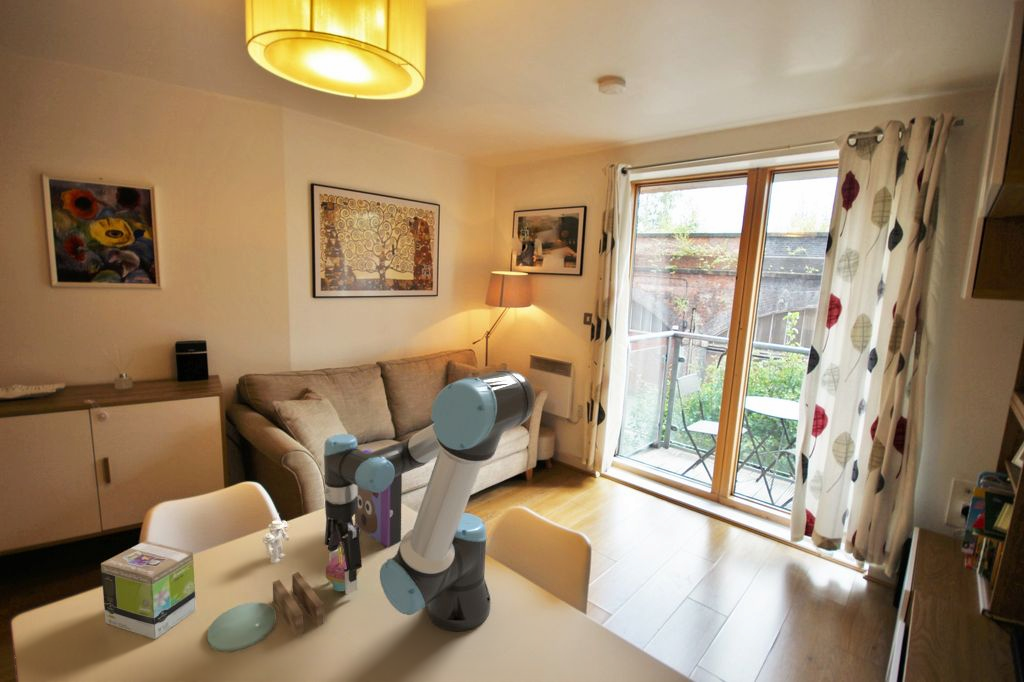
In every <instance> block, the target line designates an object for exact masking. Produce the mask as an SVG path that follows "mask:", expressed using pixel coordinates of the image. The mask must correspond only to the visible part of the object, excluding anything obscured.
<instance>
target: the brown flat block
mask: <svg viewBox="0 0 1024 682" xmlns="http://www.w3.org/2000/svg"><path fill="white" fill-rule="evenodd" d="M291 580H292V581H291V582H292V586H291V587H292V588H291V589H292V594H293V595H294V596H295V598H296V600H297V601H298V602H299V604H300V605H301V606H302V608H303V609H304V611H305V612H306V614H307V615H308V617H309V618H310V619H311V621H312V622H313V623H314V625H315V626H316V627H317V628H318V627H319V626H322V625H323V624H324V602H323V601H322V600H321V598H319V596H318V595H317V594H316V592H315V591H314V590H313V588H312V587H311V586H310V584H309V583H308V582H307V581H306V580H305V578H304V576H303V575H301V573H300V572H299V571H297V572H295V573H292V574H291Z"/></svg>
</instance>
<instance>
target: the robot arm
mask: <svg viewBox="0 0 1024 682" xmlns="http://www.w3.org/2000/svg"><path fill="white" fill-rule="evenodd" d="M535 405H536V393H535V390H534V386H533V385H532V383H531V382H530V380H529V379H528V378H527V377H526V376H524V375H523V374H521V373H519V372H517V371H514V370H511V369H510V370H507V369H502V370H498V371H494V372H490V373H487V374H482V375H478V376H474V377H472V376H471V377H464V378H461V379H459V380H457V381H456V380H455V381H454V382H452V383H449V384H447V385H446V386H444V387H443V388H442V389H441V390H439V392H438V394H437V395H436V397H435V399H434V400H433V403H432V407H431V414H430V415H431V416H430V419H431V421H432V422H433V423H431V424H430V425H429V426H426V427H425V428H423V429H422V430H420V431H418V432H417V433H415V434H413V435H412V436H409V437H407V438H406V439H404V440H402V441H400V442H398V443H394V444H392V445H388V446H386V447H382V448H380V449H377V450H374V451H372V452H371V453H367V452H365V451H364V450H362V449H359V448H358V444H359V443H358V439H357V438H356V436H355V435H353V434H349V433H347V434H345V433H344V434H343V433H341V434H340V433H339V434H337V435H335V434H334V435H332V436H329V437H328V438H327V439H326V440H325V442H324V448H323V449H324V451H323V452H324V453H323V463H324V464H323V466H324V489H323V494H325V496H324V498H325V503H324V504H325V506H324V507H325V508H324V509H325V518H326V521H325V536H324V545H325V546H327V551H329V553H328V555H329V556H328V558H329V562H330V561H331V560H333V559H334V558H336V557H338V556H339V555H338V548H339V547H340V548H341V547H342V550H343V555H344V556H345V561H346V567H347V568H345V569H344V571H345V591H344V593H345V595H348V594H351V593H353V592H355V591H358V575H357V569H359V568H362V567H363V564H362V554H361V553H362V552H361V545H360V544H361V543H360V533H361V531H360V530H361V529H360V528H358V527H354V526H355V523H354V520H353V517H354V516H355V513H356V512H357V510H358V497H357V495H358V486H359V487H360V488H362V489H364V490H369V491H372V492H375V493H378V492H382V491H384V490H386V489H387V487H388V486H389V485H390V484H391V483H392V481H393V479H394V477H396V476H398V475H400V474H402V475H403V474H405V473H408V472H410V471H413V470H415V469H418V468H420V467H423V466H424V465H427V464H428V463H430V462H431V461H433V460H434V459H436V460H435V463H434V465H433V468H432V471H431V474H430V477H429V481H428V483H427V487H426V490H425V492H424V495H423V498H422V502H421V504H420V507H419V509H418V510H419V511H418V513H417V516H416V519H415V522H414V525H413V528H412V529H410V530H408V532H406V533H405V534H404V535H403V537H401V541H400V542H399V546H398V549H397V552H396V554H395V555H394V556H393V557H392V558H388V559H386V561H385V562H384V563H383V564H382V565H381V567H380V570H379V580H380V581H379V582H380V585H381V588H382V591H383V594H384V595H385V597H386V599H387V600H388V602H389V604H390V605H391V606H392V607H393V608H394V609H395V610H396V611H397V612H399V613H400V614H402V615H407V616H412V615H414V614H416V613H417V612H419V611H421V610H424V609H425V608H426V606H427V615H428V617H429V620H431V622H432V623H433V624H434V625H435V626H437V627H439V628H441V629H443V630H445V631H451V632H465V631H469V630H472V629H474V628H477V627H478V626H480V625H481V624H483V623H484V622H485V621H486V619H487V618H488V617H489V615H490V611H491V595H490V591H489V588H488V585H487V582H486V579H485V574H486V573H485V570H486V568H485V567H486V550H487V549H486V548H487V539H488V537H487V526H486V523H485V522H484V520H483V519H482V518H481V517H479V516H477V515H475V514H472V513H468V512H465V510H466V507H467V505H468V502H469V499H470V496H471V494H472V492H473V489H474V487H475V484H476V481H477V478H478V476H479V474H480V471H481V469H482V465H483V463H484V462H487V461H489V460H491V459H492V458H493V457H494V455H495V453H496V451H497V449H498V447H499V443H500V441H501V438H502V436H503V435H504V433H506V432H509V431H511V430H513V429H515V428H517V427H519V426H521V425H522V424H524V423H525V422H526V421H528V420H529V418H530V417H531V416H532V414H533V413H534V409H535ZM329 562H328V563H329Z"/></svg>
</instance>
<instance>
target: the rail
mask: <svg viewBox="0 0 1024 682" xmlns="http://www.w3.org/2000/svg"><path fill="white" fill-rule="evenodd" d="M272 602H273V603H274V605H275V606H276V608H277V610H278V611H279V613H280V614H281V615H282V618H283V619H284V621H285V622H286V624H287V625H288V627H289V628H290V629H291V632H292V633H293V634H294V636H295V638H297V637H300V636H301V635H304V613H303V611H302V610H301V609H300V607H299V606H298V604H297V603H296V601H295V599H294V598H293V597H292V596H291V594H290V593H289V591H288V589H286V587H285V585H284V584H283V583H282V581H281V580H280V579H277V580H274V581H272Z"/></svg>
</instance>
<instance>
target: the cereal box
mask: <svg viewBox="0 0 1024 682" xmlns="http://www.w3.org/2000/svg"><path fill="white" fill-rule="evenodd" d="M363 451H365V452H367V453H371V452H373V451H372V450H369V449H365V450H363ZM402 481H403V474H400V475H398V476H396V477H394V479H393V481H392V483H391V484H390V485H389V486H388V487H387V489H386V490H384V491H382V492H378V493H375V492H372V491H369V490H364V489H362V488H360V487H359V486H358V495H357V497H358V510H357V512H356V513H355V514H354V526H355V527H356V528H359V530H361V531H363V533H366V534H367V535H368V536H370V537H371V538H372V539H374V540H375V541H377V542H378V543H379V544H381V545H383V546H384V547H385V548H387V549H388V548H390V547H392V546H394V545H396V544H398V543H401V540H402V497H403V496H402V492H403V491H402V489H403V487H402V483H403V482H402Z"/></svg>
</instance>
